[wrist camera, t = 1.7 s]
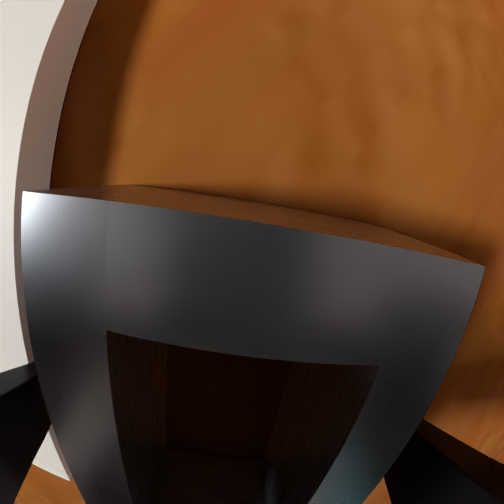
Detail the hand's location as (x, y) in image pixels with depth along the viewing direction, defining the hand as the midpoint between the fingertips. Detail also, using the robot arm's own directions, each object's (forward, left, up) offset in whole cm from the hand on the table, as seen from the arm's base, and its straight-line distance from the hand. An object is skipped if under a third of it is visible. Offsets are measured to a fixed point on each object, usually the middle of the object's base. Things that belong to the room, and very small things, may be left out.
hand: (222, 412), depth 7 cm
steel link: (0, 0, -1) cm, 1 cm away
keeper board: (+4, +12, -1) cm, 13 cm away
